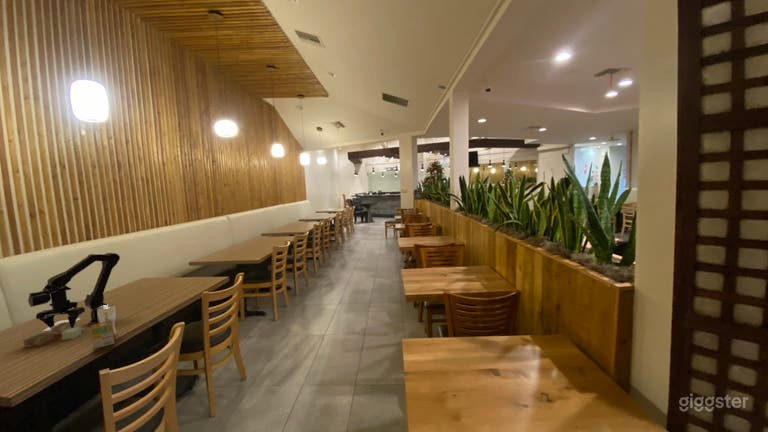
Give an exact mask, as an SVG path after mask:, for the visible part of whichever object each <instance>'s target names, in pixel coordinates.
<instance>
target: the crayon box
mask: <svg viewBox="0 0 768 432" xmlns="http://www.w3.org/2000/svg"><path fill="white" fill-rule="evenodd" d="M105 323H106V324H105ZM100 324H105V325H100ZM91 335H92V342H93V349H95V350H96V349H98V348H102V347H106V346H110V345H111V346H112V345H115V343H116V340H115V335H114V330H113V323H112V321H108V322H103V323H99V322H98V323H94V324H91Z"/></svg>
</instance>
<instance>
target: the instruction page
mask: <svg viewBox="0 0 768 432" xmlns="http://www.w3.org/2000/svg"><path fill="white" fill-rule="evenodd" d="M81 319H82V318H81V317H80V318H79V317H77V319H76V322H78V321H80V320H81ZM63 322H69V320H68V319H64V320H63V319H62V320H59V321H57V322H54V326H55V325H57V324H59V323H63ZM44 332H51V328H50V327H49V326H47V328H45V329H43V330H42V331H41V333H44Z"/></svg>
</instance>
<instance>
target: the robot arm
mask: <svg viewBox="0 0 768 432" xmlns="http://www.w3.org/2000/svg"><path fill="white" fill-rule="evenodd" d="M120 258H121V257H120V255H119V254H118V253H115V252H107V253H105V254H95V253H91V254H88V255H87V256H86V257H84V258H83V259H81V260H80V261H79V262H77V263H76V264H74V265H72V266H71V267H70V268H68V269H67V270H65V271H63V272H60V273H58V274H56V275H53V276H52V277H50V278H48V279H47V282H46V283H47V284H45V286H44V287H43V289H42V290H41V291H36V292H30V293H29V296H28V300H27V301H28V302H27V303H28V305H29V306H30V307H37V306H41V305H45V304H48V303H49V302H51V303H49V305H48V306H49V307H51V308H52V309H45V310H42V311H40V312H38V313H36V315H35V319H36V320H38V319H39V321H41V322H43V323H44V324H45V325H46V326H47V327H50V328H51V327H53V326H54V324H55V320H54V319H55V316H57V315H59V316H60V315H67V320H69V323H70V326H71V328H73V327H74V328H75V325H76V322H77V321H76V319H78V318H79V316H80V315H82V314H83V313H84V312H86V311H85V307H87V308H89V309H90V310H91V312H90V318H91V320H90V321H89V322H90V323H95V322H98V318H97V308H98V307H101V306H104V305H108V304H107V303H105V302H104V299H105V298H104V297H105V295H104V292H105V289H106V287H107V284H108V281H109V279H110V276H111V273H112V271H113V269H114V268H115V267H116V266H117V264H118V263H119V261H120ZM95 262H101V270H100V272H99V275H98V278H97V280H96V284H95V285H94V288H93V291H91V293H90V294H86V297H85V299H84V301H83V302H84V306H85V307H83V306H79V307H78V304H79V303H78V301H71V300H70V299H68V296H67V291H69V290H72V288H71V287H69V286H68V284H69V282H70V281H71V280H72V279H73V278H74V277H75V276H77V274H80V273H81V272H82V271H84V270H85V269H86V268H88V267H89V266H91V265H92V264H94V263H95Z"/></svg>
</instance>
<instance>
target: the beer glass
mask: <svg viewBox="0 0 768 432" xmlns="http://www.w3.org/2000/svg"><path fill="white" fill-rule="evenodd" d="M116 317H117V312H116V307H115V304H107V305H104V306H101V307H98V308H97V318H98V321H97V322H98V324H99V323H103V322H108V321H112V323H113V330H114V336H115V335H116V334H117V333H118V332H117V330H116ZM105 324H106V323H105ZM105 324H100V325H105ZM100 325H99V326H100Z"/></svg>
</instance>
